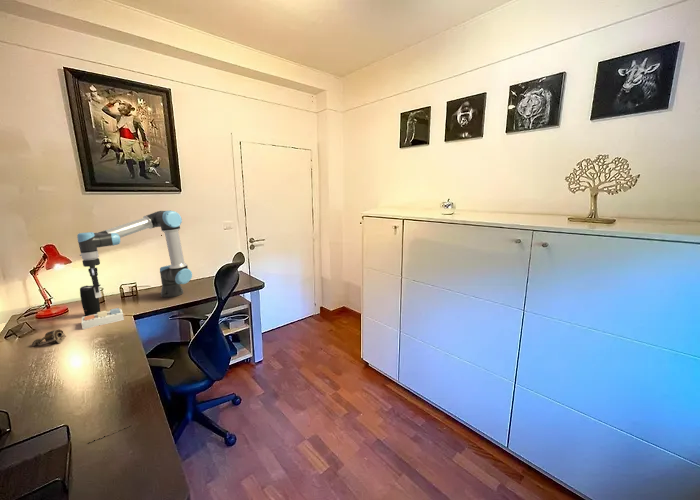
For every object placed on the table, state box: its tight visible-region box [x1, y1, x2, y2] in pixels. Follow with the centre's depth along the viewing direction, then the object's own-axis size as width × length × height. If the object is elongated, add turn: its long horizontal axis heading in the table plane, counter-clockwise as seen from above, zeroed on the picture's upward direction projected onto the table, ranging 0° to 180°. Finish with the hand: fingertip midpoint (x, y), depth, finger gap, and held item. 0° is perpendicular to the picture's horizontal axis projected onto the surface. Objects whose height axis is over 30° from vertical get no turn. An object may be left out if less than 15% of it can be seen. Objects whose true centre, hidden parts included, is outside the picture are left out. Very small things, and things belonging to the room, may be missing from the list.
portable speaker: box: [79, 285, 101, 316], centre depth 190 cm, size 8×9×19 cm
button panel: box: [81, 308, 125, 330], centre depth 180 cm, size 19×12×4 cm, turn 131°
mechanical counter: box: [31, 328, 67, 347], centre depth 153 cm, size 7×13×10 cm
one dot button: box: [109, 307, 120, 315], centre depth 183 cm, size 4×4×3 cm
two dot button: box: [97, 310, 108, 317], centre depth 179 cm, size 4×4×3 cm
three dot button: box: [83, 315, 95, 320], centre depth 176 cm, size 4×4×3 cm
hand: (98, 297), depth 178 cm, fingers closed
